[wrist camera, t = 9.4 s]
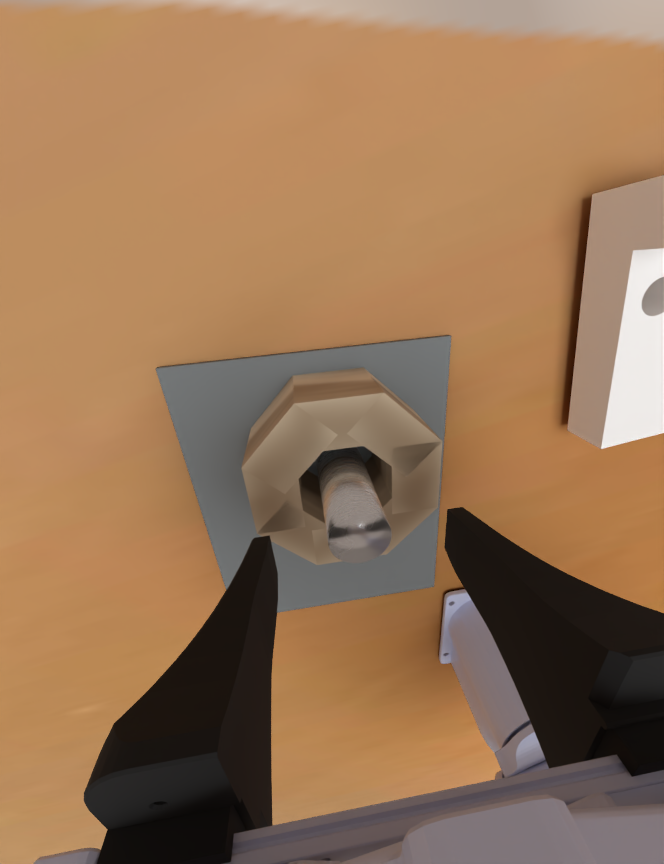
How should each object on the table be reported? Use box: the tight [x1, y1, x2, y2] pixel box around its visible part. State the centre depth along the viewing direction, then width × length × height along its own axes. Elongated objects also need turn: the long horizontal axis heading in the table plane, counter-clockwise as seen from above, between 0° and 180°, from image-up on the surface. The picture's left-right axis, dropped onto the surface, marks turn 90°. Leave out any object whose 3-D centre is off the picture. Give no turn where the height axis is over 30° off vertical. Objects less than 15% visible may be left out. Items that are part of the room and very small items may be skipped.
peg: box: [316, 447, 392, 563], centre depth 17 cm, size 3×3×8 cm
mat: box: [156, 335, 451, 612], centre depth 22 cm, size 20×16×1 cm
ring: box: [241, 367, 442, 565], centre depth 19 cm, size 10×10×4 cm
